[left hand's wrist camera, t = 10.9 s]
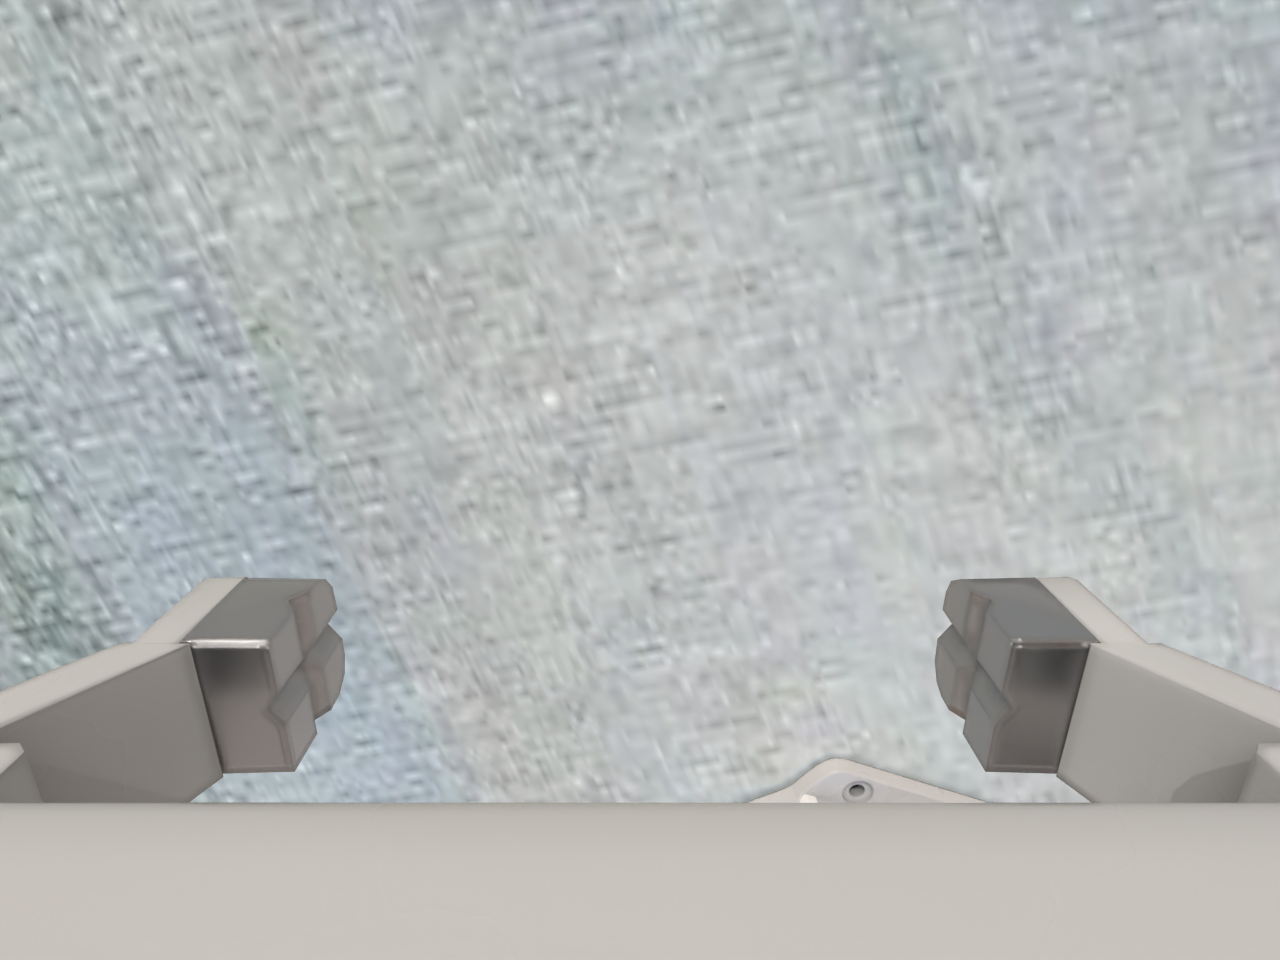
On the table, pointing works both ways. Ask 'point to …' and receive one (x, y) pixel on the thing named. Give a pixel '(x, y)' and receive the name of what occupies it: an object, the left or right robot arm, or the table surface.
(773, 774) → the table surface
